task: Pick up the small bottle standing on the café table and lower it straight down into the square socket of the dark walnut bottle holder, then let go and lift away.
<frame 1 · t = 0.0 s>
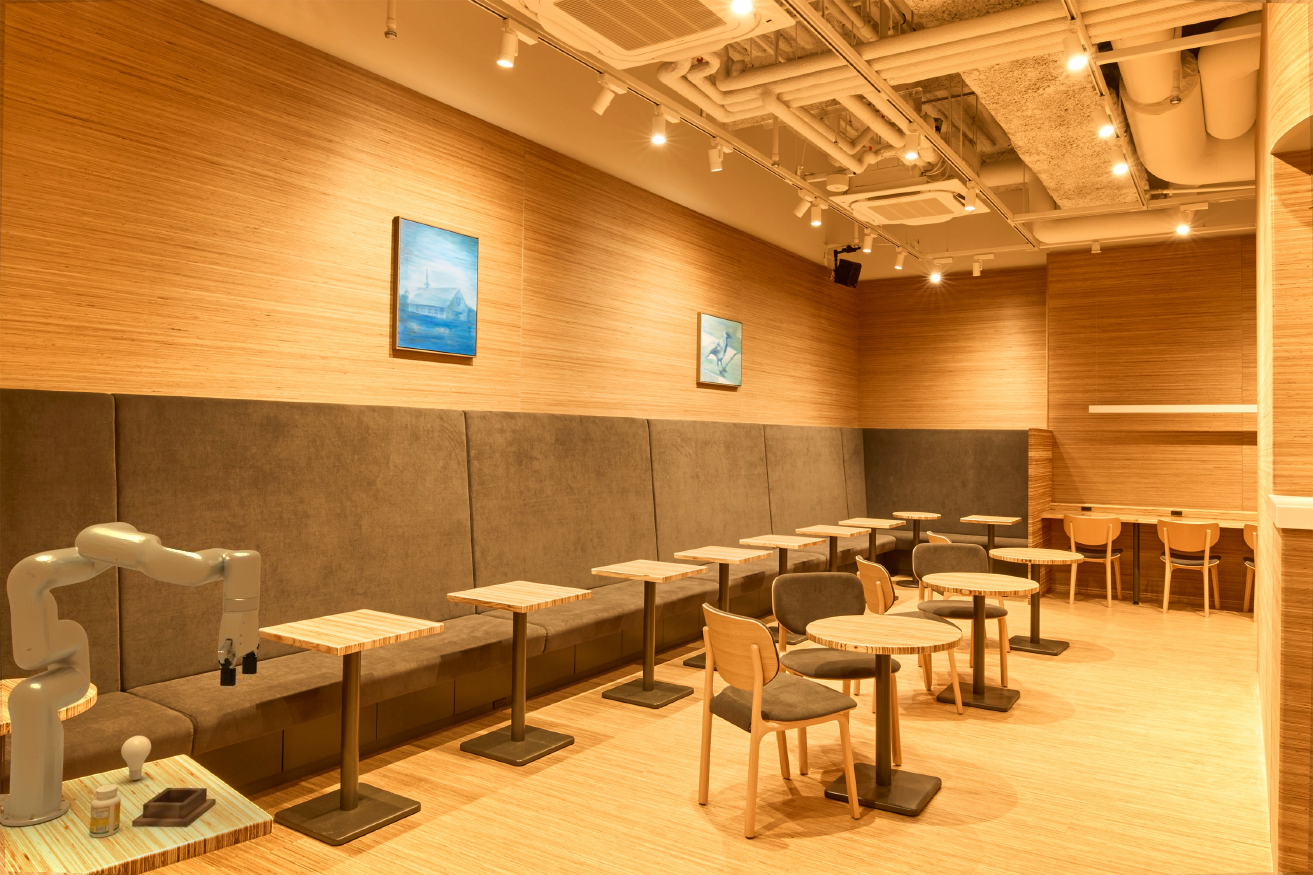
hand: (238, 679, 185), 31 cm above the table, fingers open, 9 cm apart
supplement bottle: (104, 833, 176), on the table
lightbulb: (135, 780, 204), on the table
holder: (175, 814, 185), on the table
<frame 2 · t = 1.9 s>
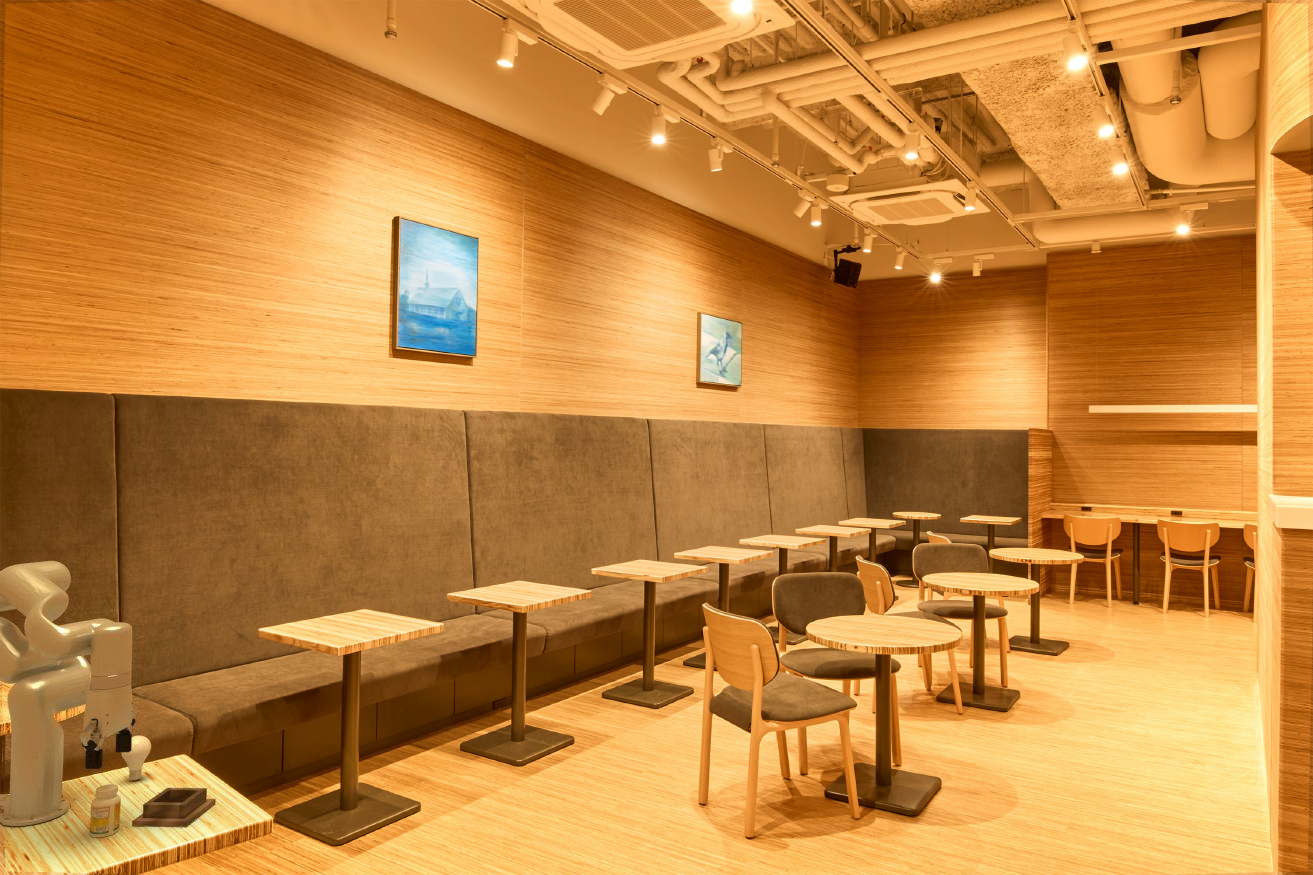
hand: (109, 759, 176), 16 cm above the table, fingers open, 9 cm apart
nothing on the table moved.
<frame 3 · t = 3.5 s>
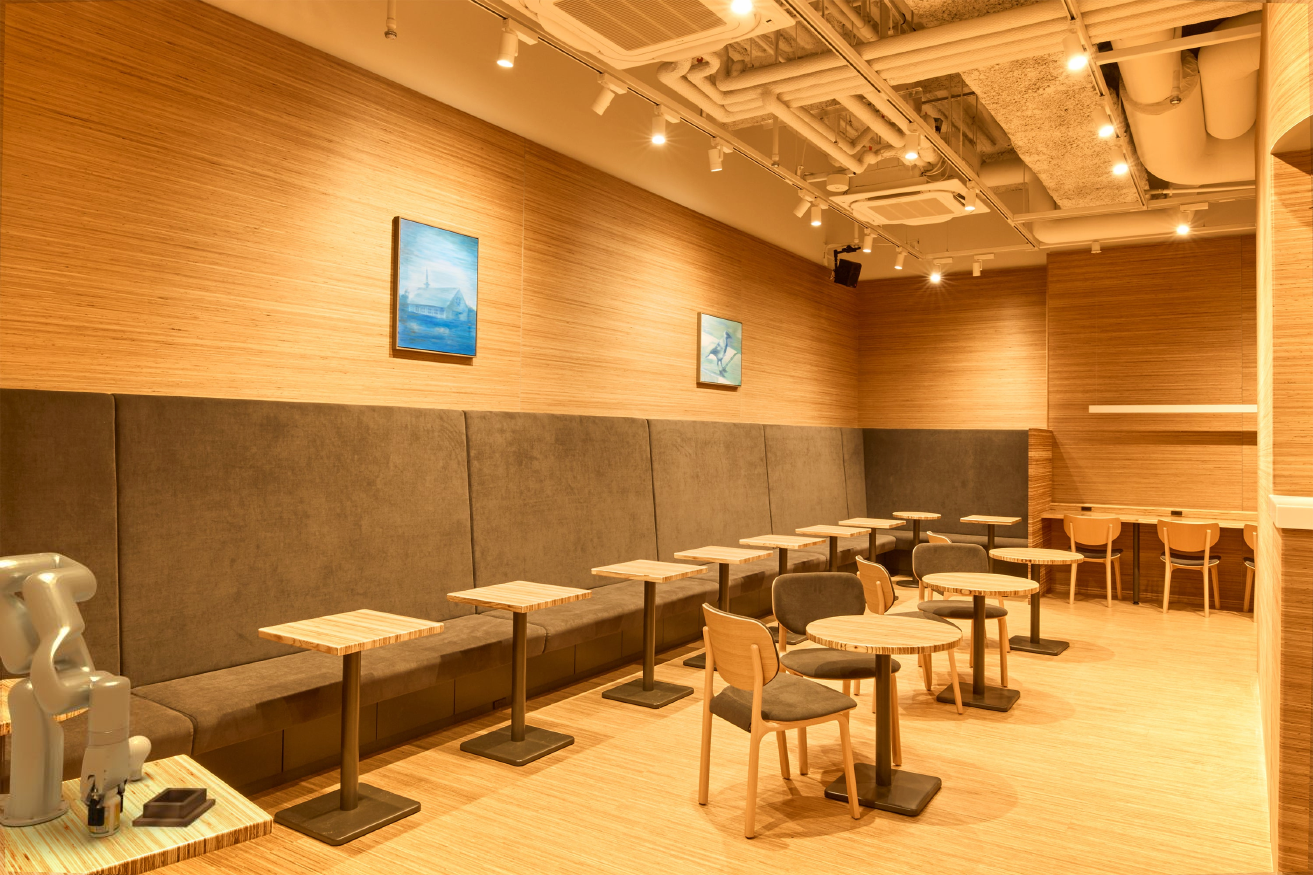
hand: (105, 818, 176), 3 cm above the table, fingers closed on supplement bottle, 5 cm apart
supplement bottle: (104, 833, 176), on the table, touching gripper
everything else where it was.
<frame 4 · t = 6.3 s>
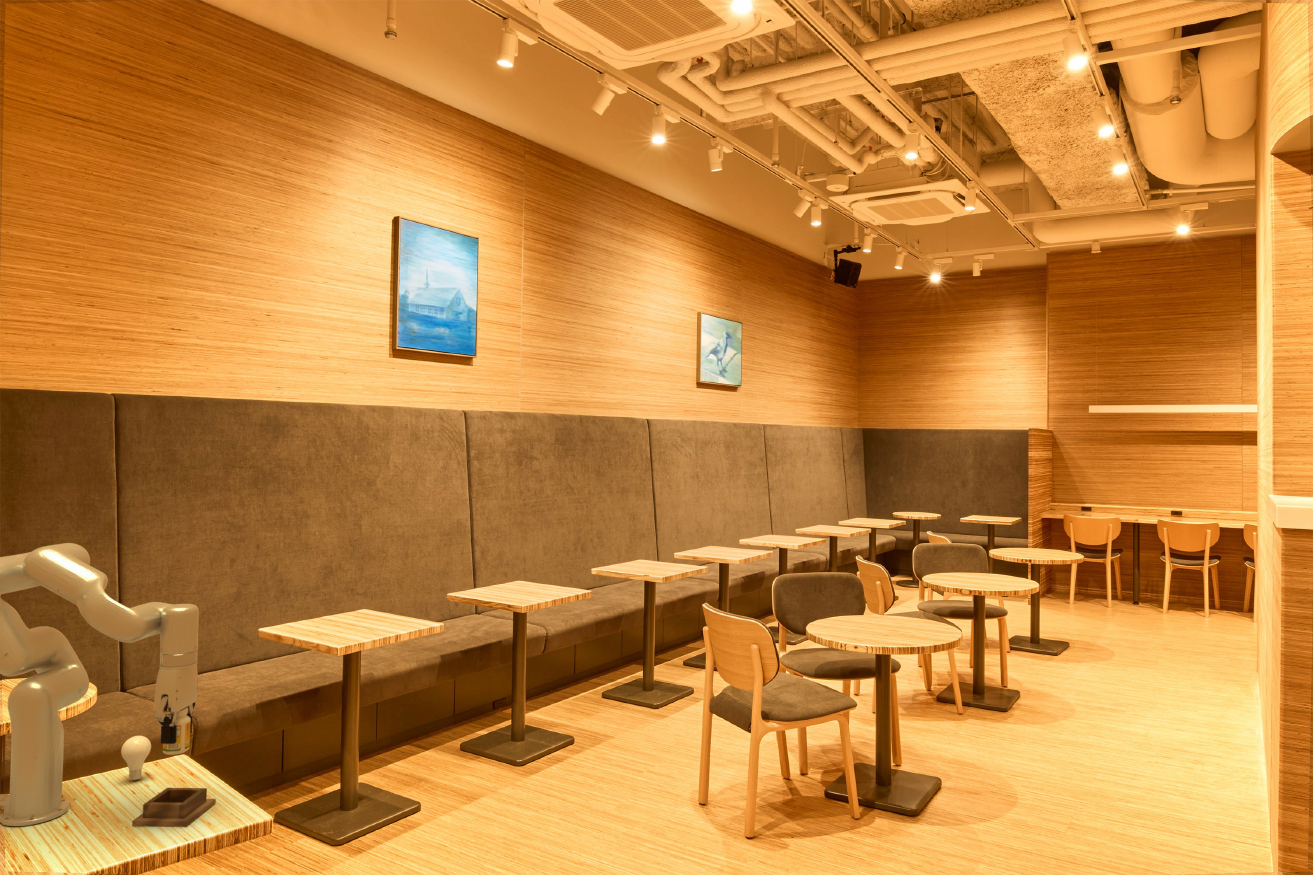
hand: (176, 737, 185), 18 cm above the table, fingers closed on supplement bottle, 5 cm apart
supplement bottle: (176, 751, 185), point 14 cm above the table, touching gripper
everything else where it was.
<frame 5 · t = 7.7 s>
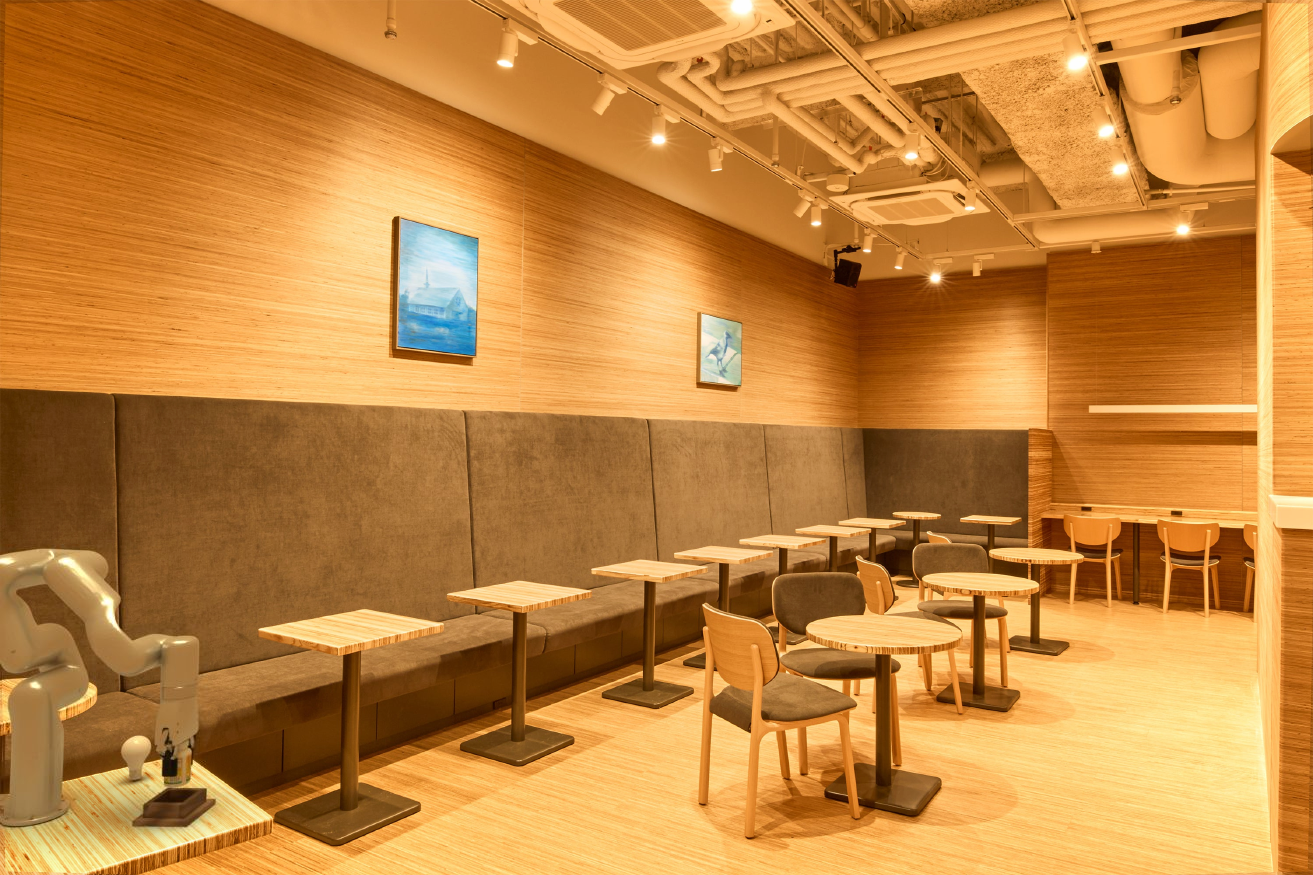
hand: (177, 769, 185), 10 cm above the table, fingers closed on supplement bottle, 5 cm apart
supplement bottle: (177, 784, 185), point 7 cm above the table, touching gripper
everything else where it was.
when the fingers open (6 cm above the table, at t = 9.0 s): supplement bottle drops 1 cm, resting on holder.
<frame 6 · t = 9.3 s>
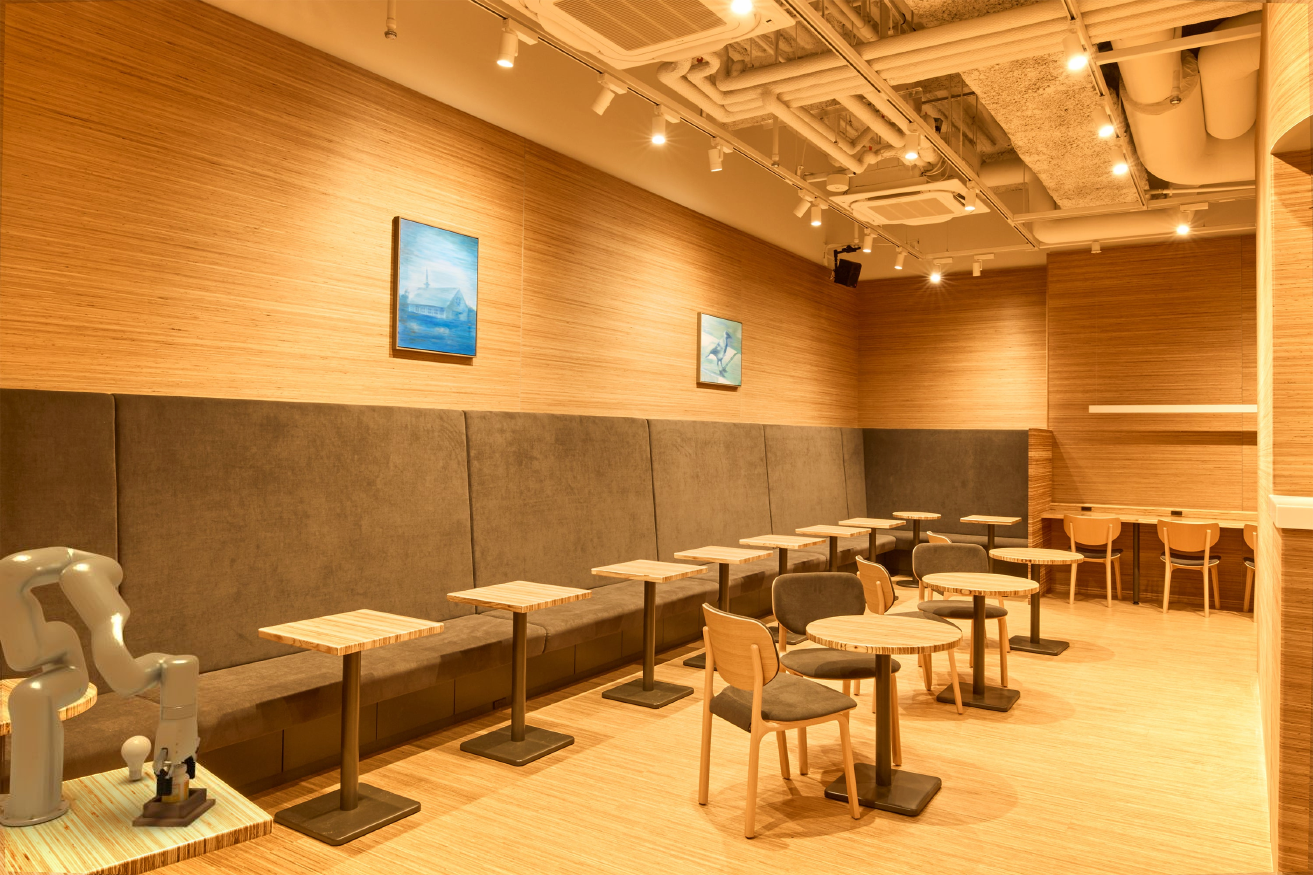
hand: (176, 786, 185), 6 cm above the table, fingers open, 8 cm apart
supplement bottle: (175, 809, 185), point 1 cm above the table, touching holder
everything else where it was.
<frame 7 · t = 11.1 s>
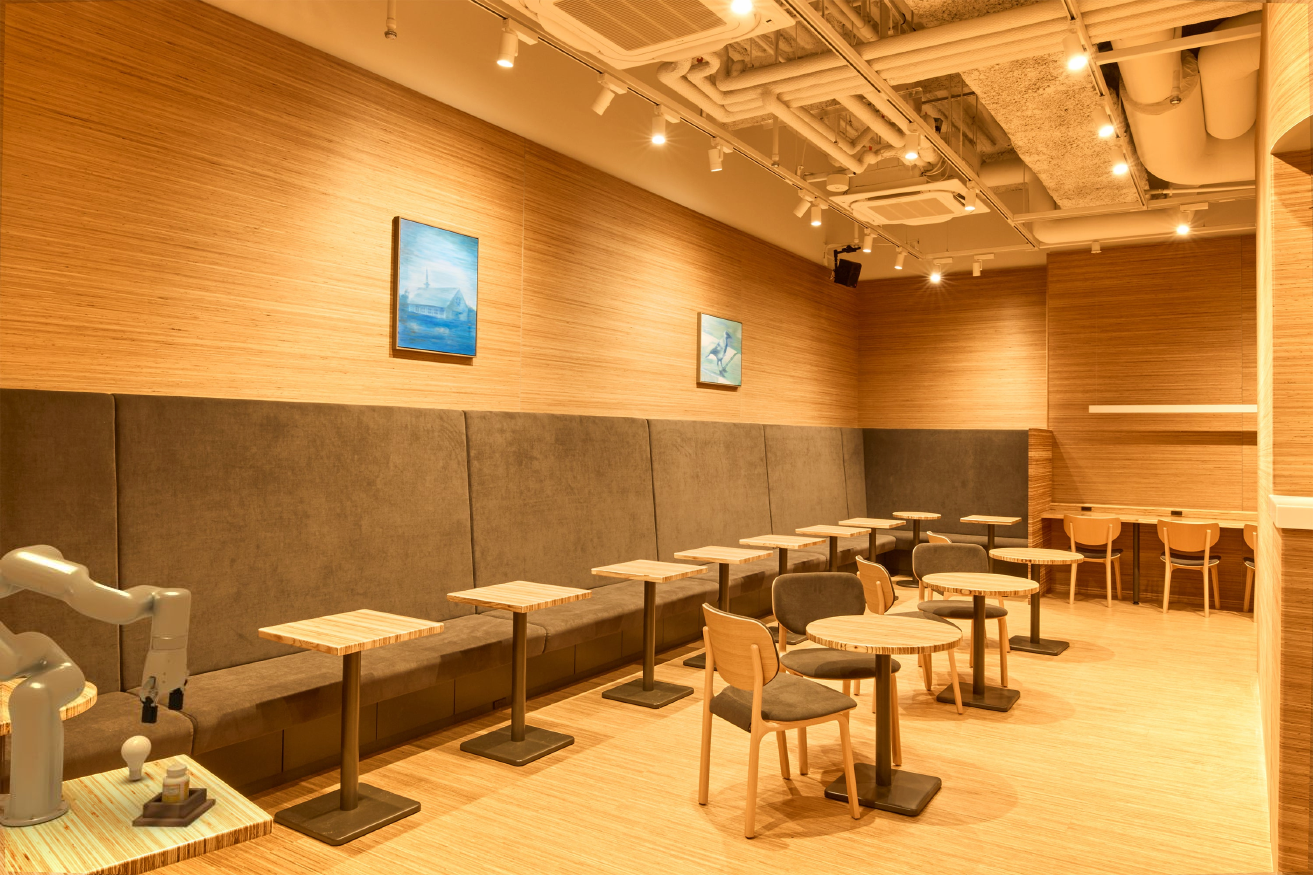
hand: (162, 715, 188), 22 cm above the table, fingers open, 9 cm apart
nothing on the table moved.
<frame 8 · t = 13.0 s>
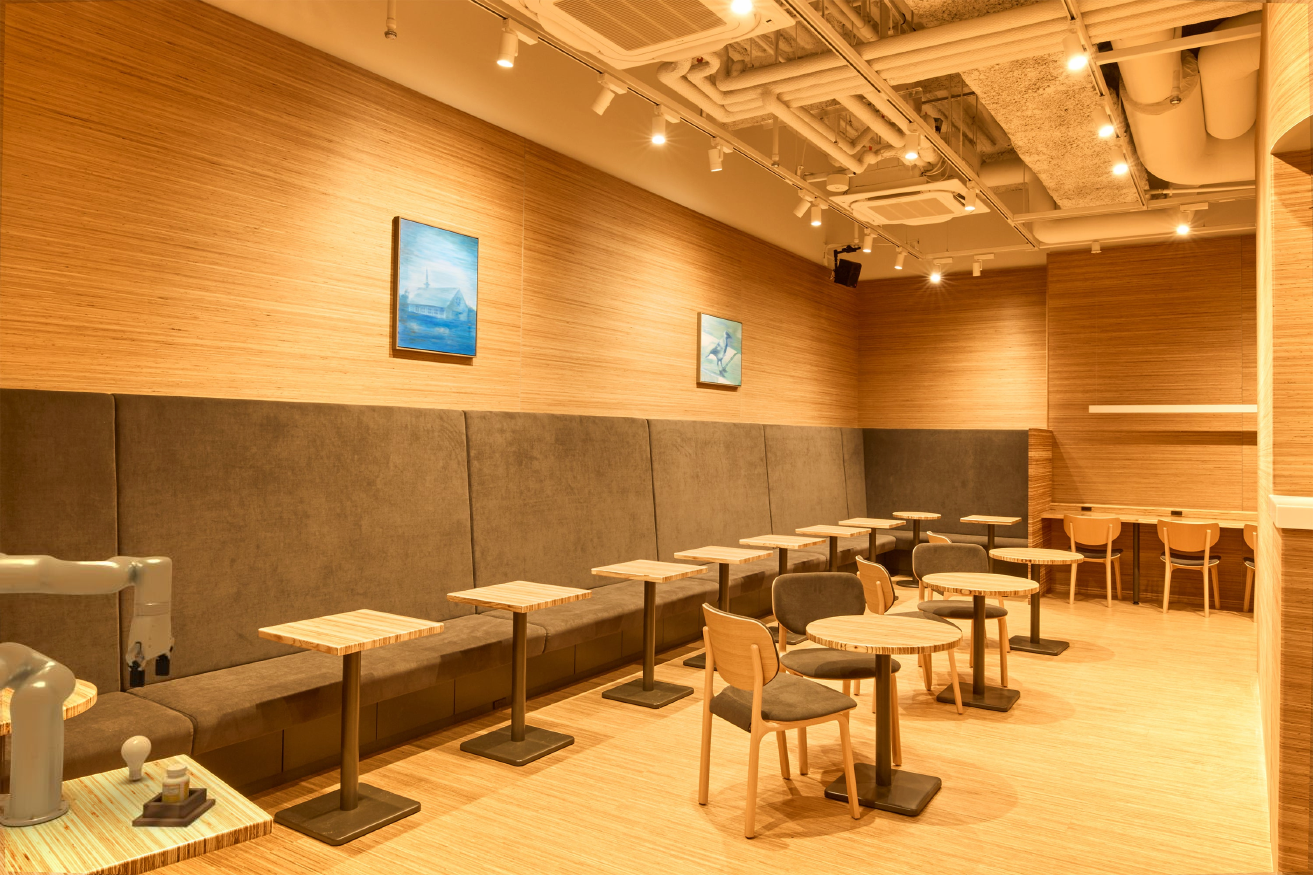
hand: (149, 680, 193), 28 cm above the table, fingers open, 9 cm apart
nothing on the table moved.
at the end: supplement bottle 0.3 cm off-centre on the holder, point 1.0 cm above the holder's base; supplement bottle tilted 0°; the gripper is holding nothing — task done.
